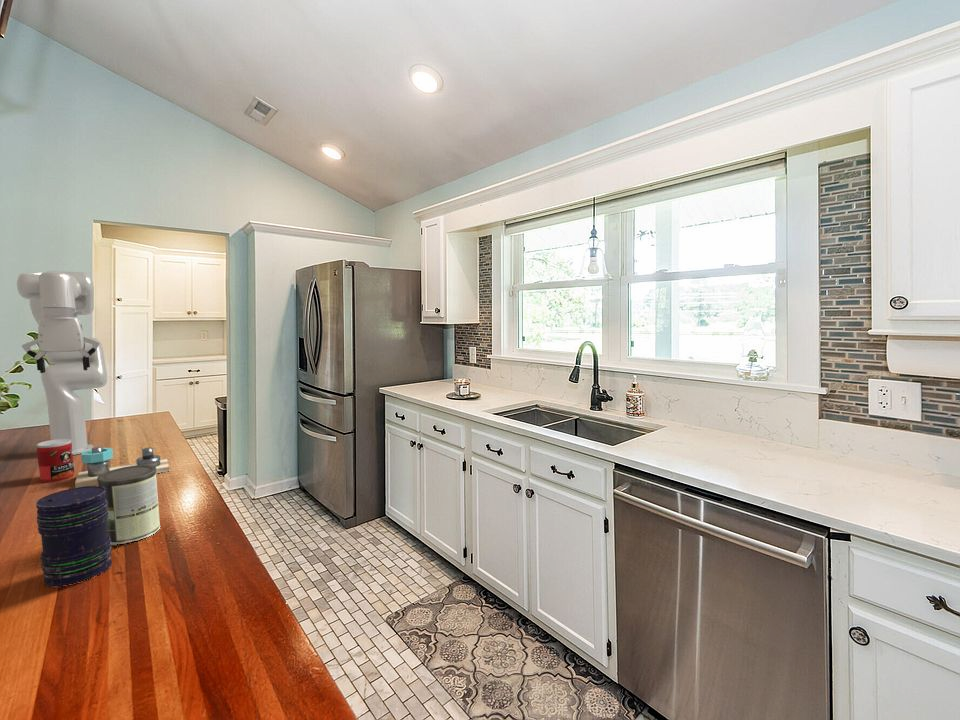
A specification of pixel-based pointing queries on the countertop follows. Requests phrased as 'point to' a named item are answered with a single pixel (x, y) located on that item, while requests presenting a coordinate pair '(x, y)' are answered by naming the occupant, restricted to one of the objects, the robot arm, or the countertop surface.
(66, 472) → the canned food
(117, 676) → the countertop surface
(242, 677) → the countertop surface
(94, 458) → the teal octagonal collar
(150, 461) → the knob
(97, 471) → the stand
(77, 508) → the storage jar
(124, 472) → the coffee can
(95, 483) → the base board
